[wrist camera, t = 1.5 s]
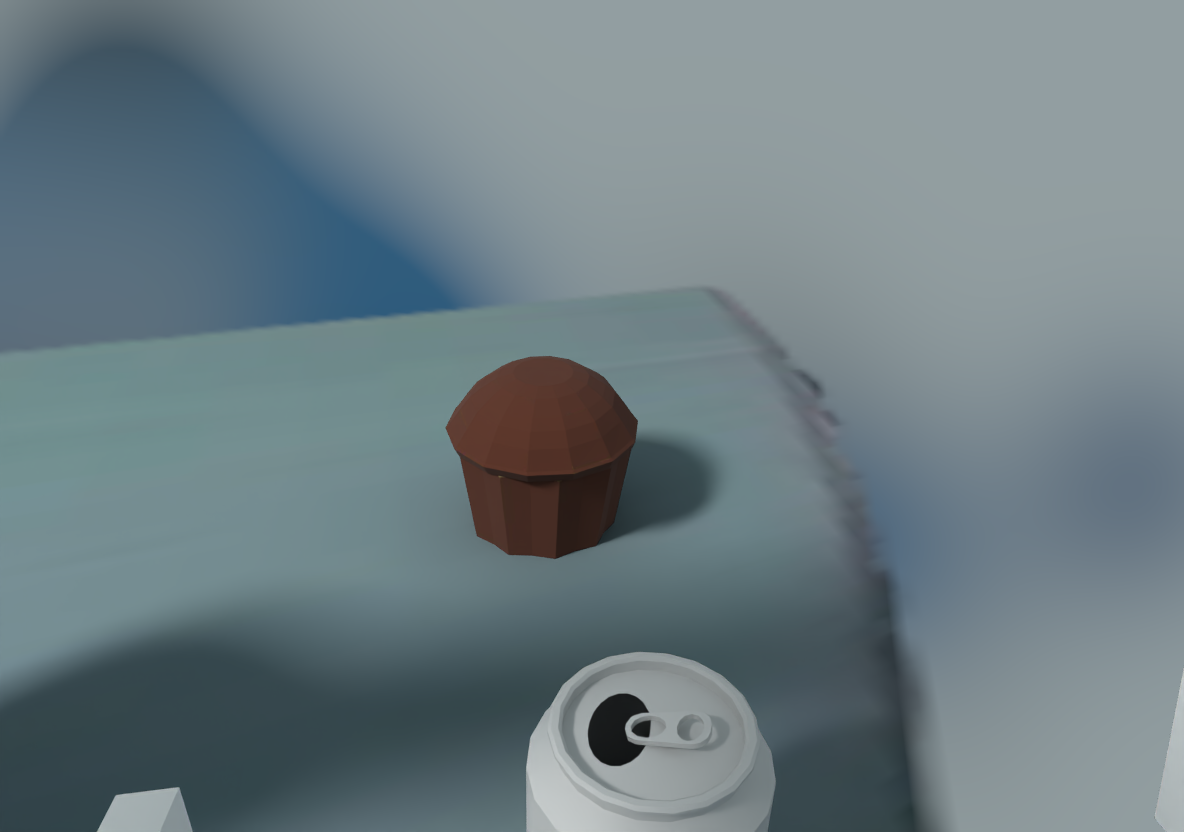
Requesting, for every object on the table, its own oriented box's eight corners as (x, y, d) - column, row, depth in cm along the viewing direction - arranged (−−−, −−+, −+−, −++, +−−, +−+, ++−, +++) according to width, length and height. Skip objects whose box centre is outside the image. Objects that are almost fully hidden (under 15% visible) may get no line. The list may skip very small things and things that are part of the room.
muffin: (475, 462, 63) (470, 326, 59) (636, 475, 63) (644, 338, 58) (431, 566, 53) (421, 411, 48) (624, 583, 52) (633, 427, 47)
